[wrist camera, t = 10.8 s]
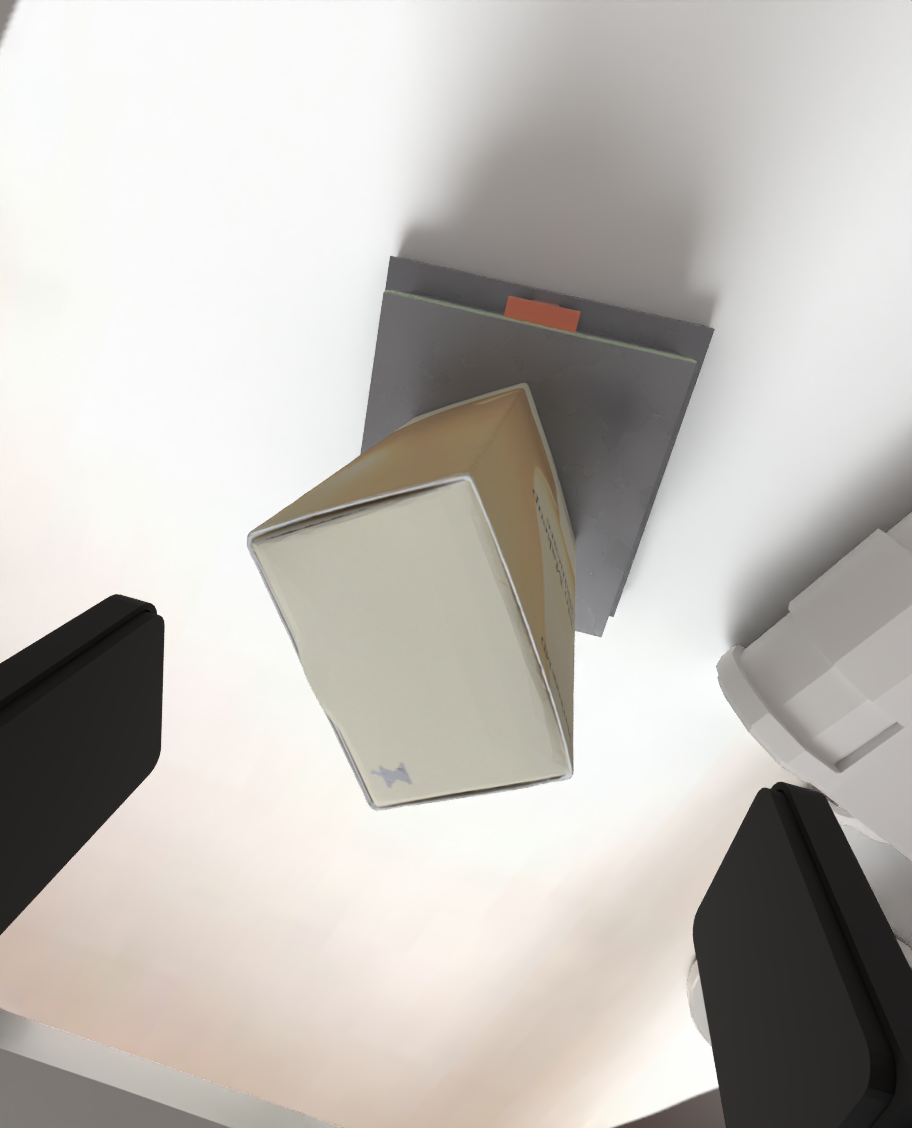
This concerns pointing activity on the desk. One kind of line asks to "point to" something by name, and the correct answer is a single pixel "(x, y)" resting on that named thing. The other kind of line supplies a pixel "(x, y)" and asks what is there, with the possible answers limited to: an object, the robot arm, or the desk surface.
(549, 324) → the grey piece
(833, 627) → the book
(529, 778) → the skincare box
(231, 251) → the desk surface
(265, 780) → the desk surface
